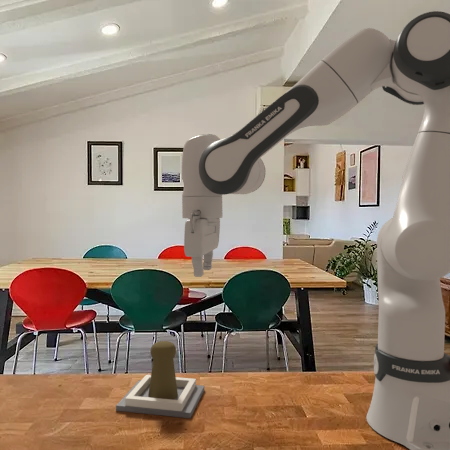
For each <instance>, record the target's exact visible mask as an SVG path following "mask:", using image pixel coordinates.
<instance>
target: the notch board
mask: <svg viewBox="0 0 450 450" xmlns="http://www.w3.org/2000/svg"><path fill="white" fill-rule="evenodd" d="M150 380H151V374H146V375H144V377H142V379H139V380H138V381H136V382H135V384H134V385H133V386H132V387H131V388H130V390H128V392H127V393H126V394H125V395H124V396H123V397H122V399H121V400H120V401H119V402H117V404H116V405H115V411H116V412H124V413H125V412H126V413H135V414H136V413H137V414H144V415H145V414H146V415H154V416H165V417H175V418H184V419H192V417H193V414H194V411H195V410H196V408H197V406H198V404H199V402H200V400H201V398H202V395H203V394H204V392H205V385H199V384H197V378H193V377H192V378H191V377H180V376H179V377H178V376H176V384H177V392H178V396H177V397H176V398H175V399H174V400H171V399H160V398H150V397H148V394H149V387H150Z"/></svg>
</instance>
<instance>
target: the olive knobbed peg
mask: <svg viewBox="0 0 450 450" xmlns="http://www.w3.org/2000/svg"><path fill="white" fill-rule="evenodd" d="M176 354H177V348H176V345H175V343H174V342H172V341H169V340H160V341H157V342H155V343H153V344H152V346H151V347H150V356H151V358H152V365H151V366H152V367H151V374H150V375H151V380H150V387H149V394H148V397H150V398H160V399H171V400H174V399H175V398H176V397H177V396H178V392H177V384H176V377H177V376H176V368H175V361H174V358H175V357H176Z"/></svg>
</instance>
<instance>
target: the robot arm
mask: <svg viewBox="0 0 450 450" xmlns="http://www.w3.org/2000/svg"><path fill="white" fill-rule="evenodd" d="M379 88H382V90H383V91H384V92H385V93H387V94H390V95H391V96H394V97H396V98H398V99H399V100H400V101H402V102H404V103H407V104H409V105H413V106H422V105H423V106H424V110H423V115H422V116H423V117H422V119H421V122H420V125H419V129H418V131H417V135H416V137H415V139H414V142H413V145H412V148H411V151H410V154H409V157H408V160H407V163H406V165H405V168H404V172H403V175H402V179H401V183H400V189H399V193H398V198H397V201H396V205H395V209H394V212H393V216H392V218H389V219H388V220H387V221H385V223H384V224H383V225H382V226H381V228H380V229H379V232H378V234H377V237H376V263H377V264H376V265H377V267H376V268H377V270H376V271H377V293H378V317H377V319H378V321H377V324H378V325H377V344H376V345H375V346H374V347H375V349H374V356H373V372H374V373H373V374H374V377H375V379H374V385H373V386H374V387H373V393H372V398H371V402H370V405H369V407H368V410H367V414H366V422H367V423H368V425H369V426H370V427H371V428H372V429H373V431H375V432H376V433H378V434H379V435H381V436H383V437H385V439H389V440H391V441H394V442H395V443H398V444H401V445H403V446H404V447H406V448H407V449H409V450H450V355H449V354H447V353H446V352H445V335H446V334H445V333H446V332H445V331H446V308H445V304H444V300H443V293H442V287H441V279H442V278H443V277H446V276H447V275H448V274H449V273H450V13H447V12H445V11H439V10H437V11H434V10H433V11H428V12H425V13H422V14H420V15H417V16H416V17H414V18H413V19H411V21H408V23H407V24H406V25H405V26H404V27H403V28H402V29H401V31H400V33H399V34H398V36H397V38H396V40H393V39H391V38H390V39H389V37H388V36H387V35H386V34H385V33H383V31H380V30H378V29H375V28H372V27H371V28H370V27H369V28H368V27H367V28H363V29H360V30H358V31H357V32H356V33H354V34H353V35H351V36H349V37H348V38H346V39H345V40H344V41H342V42H341V43H339V44H338V45H337V46H336V47H334V48H333V49H332V50H331V51H329V52H328V53H327V54H326V55H325V56H323V58H322V59H321V60H320V61H318V62H317V63H315V65H314V66H313V67H312V68H311V69H310V70H308V71H307V73H305V74H304V75H303V76H302V77H301V78H300V80H298V81H297V82H296V83H295V84H294V85H293V86H292V87H290V88H289V89H288V90H287V91H286V92H285V93H284V94H282V95H281V96H279V97H278V98H277V99H275V100H274V101H273V102H272V103H271V104H270V105H268V106H267V107H266V108H265V109H264V110H263V111H261V112H260V113H258V114H257V115H256V116H255V117H254V118H253V119H251V120H250V121H249V122H248V123H246V124H245V125H244V126H243V127H242V128H240V129H239V130H238V131H237V132H235V133H233V134H232V135H230V136H228V137H225V138H222V139H221V138H220V137H219V136H217V135H215V134H209V133H208V134H199V135H195V136H192V137H190V138H189V139H188V140H186V141H185V144H184V146H183V149H182V150H183V151H182V157H181V179H182V183H183V192H182V193H181V200H182V201H181V205H182V206H181V207H182V209H181V210H182V211H181V213H182V219H186V221H185V224H184V239H183V240H184V241H183V251H184V255H185V257H190V258H191V264H192V267H193V276H194V277H196V278H200V277H201V278H202V276H204V274H205V273H204V271H210V270H212V268H213V267H212V266H213V257H214V250H216V249H218V246H219V243H220V229H221V219H222V218H223V196H224V195H230V194H231V195H248V194H250V193H251V194H252V193H253V192H255V191H257V190H259V188H260V187H261V186H262V184H263V183H264V182H265V177H266V167H265V163H264V162H263V160H262V157H263V156H265V155H266V154H267V153H269V151H270V150H272V149H273V148H274V147H275V146H277V145H278V144H279V143H281V142H282V141H284V139H285V138H286V137H288V136H289V135H290V134H292V133H294V132H296V131H298V130H300V129H304V128H307V127H315V126H317V127H319V126H320V127H321V126H327V125H330V124H332V123H334V122H335V121H337V120H339V119H340V118H342V117H343V116H345V115H346V114H347V113H349V112H350V111H351V110H352V109H354V108H355V107H356V106H357V105H358V104H360V103H361V102H362V101H363V100H364V99H365V98H367V96H368V95H370V94H371V93H372V92H374V91H375V90H376V89H379Z"/></svg>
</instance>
